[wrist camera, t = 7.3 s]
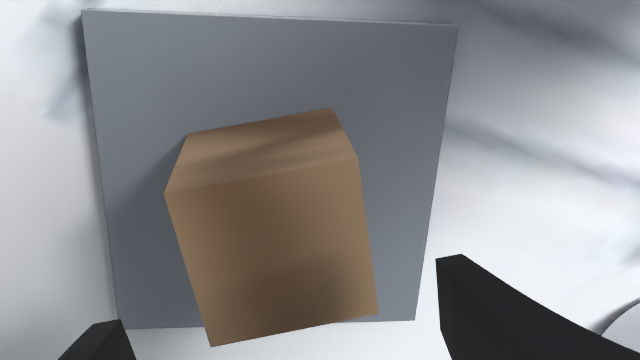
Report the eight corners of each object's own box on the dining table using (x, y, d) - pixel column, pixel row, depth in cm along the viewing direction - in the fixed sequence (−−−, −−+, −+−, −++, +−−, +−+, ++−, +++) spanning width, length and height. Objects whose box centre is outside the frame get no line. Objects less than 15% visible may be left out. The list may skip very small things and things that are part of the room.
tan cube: (331, 107, 18) (357, 157, 13) (350, 232, 20) (379, 313, 15) (188, 133, 17) (163, 193, 13) (221, 257, 19) (210, 347, 15)
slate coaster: (450, 23, 18) (458, 26, 17) (409, 308, 22) (414, 320, 22) (88, 8, 16) (80, 10, 16) (124, 316, 21) (119, 329, 20)
